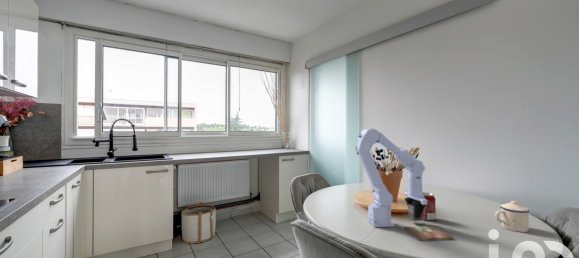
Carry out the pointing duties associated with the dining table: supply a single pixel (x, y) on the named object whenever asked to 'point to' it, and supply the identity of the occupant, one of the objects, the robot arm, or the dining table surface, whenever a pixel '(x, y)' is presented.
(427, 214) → the soda can
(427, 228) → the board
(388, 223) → the robot arm
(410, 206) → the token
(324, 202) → the dining table surface
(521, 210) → the teacup with lid
